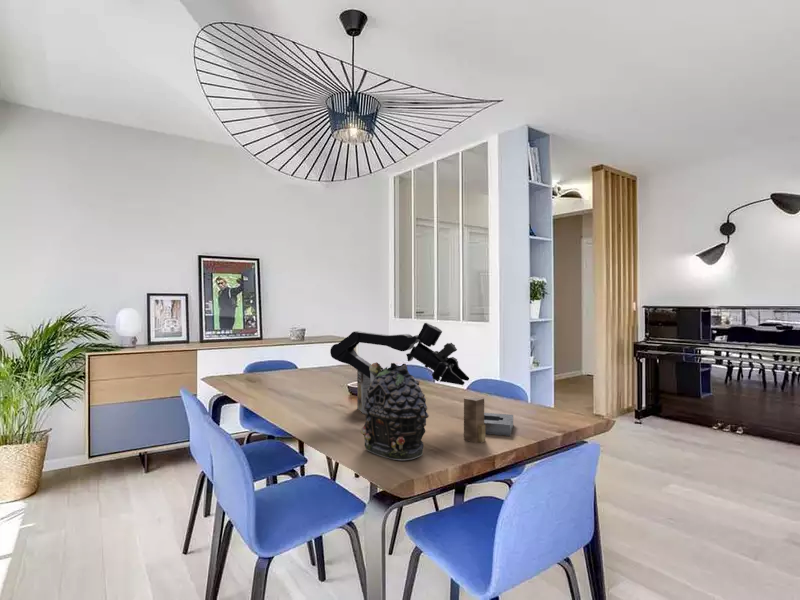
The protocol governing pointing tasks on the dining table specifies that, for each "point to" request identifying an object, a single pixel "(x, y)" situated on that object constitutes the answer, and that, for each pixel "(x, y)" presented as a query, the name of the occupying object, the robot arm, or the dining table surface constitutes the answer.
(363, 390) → the coffee box
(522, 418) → the dining table surface
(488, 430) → the hub block
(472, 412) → the keyed plug
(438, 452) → the dining table surface
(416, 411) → the decorative house
